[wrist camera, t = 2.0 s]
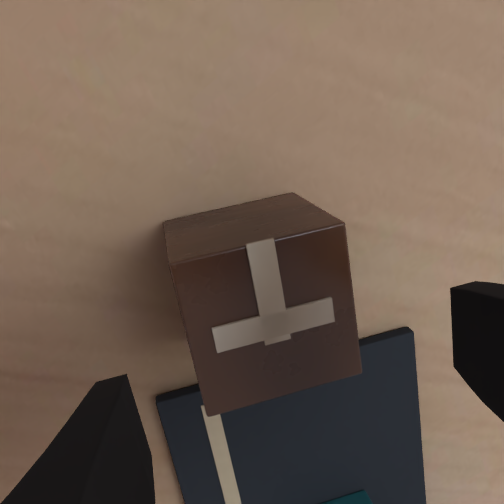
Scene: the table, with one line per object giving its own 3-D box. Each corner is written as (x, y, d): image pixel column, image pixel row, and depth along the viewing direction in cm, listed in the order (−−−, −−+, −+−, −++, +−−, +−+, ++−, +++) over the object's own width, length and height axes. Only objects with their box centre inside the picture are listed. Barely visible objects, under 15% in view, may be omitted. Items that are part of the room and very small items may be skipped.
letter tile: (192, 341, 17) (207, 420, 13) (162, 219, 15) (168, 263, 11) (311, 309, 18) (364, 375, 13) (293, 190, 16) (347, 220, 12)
